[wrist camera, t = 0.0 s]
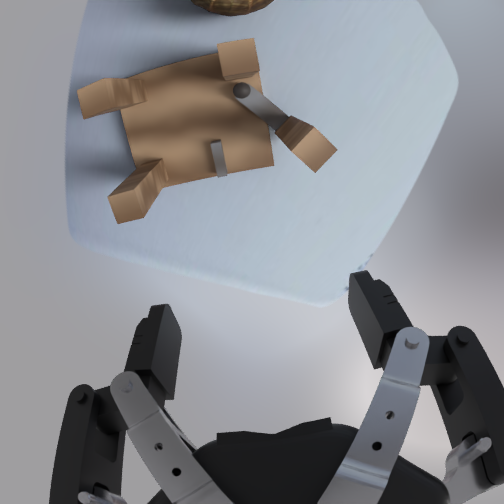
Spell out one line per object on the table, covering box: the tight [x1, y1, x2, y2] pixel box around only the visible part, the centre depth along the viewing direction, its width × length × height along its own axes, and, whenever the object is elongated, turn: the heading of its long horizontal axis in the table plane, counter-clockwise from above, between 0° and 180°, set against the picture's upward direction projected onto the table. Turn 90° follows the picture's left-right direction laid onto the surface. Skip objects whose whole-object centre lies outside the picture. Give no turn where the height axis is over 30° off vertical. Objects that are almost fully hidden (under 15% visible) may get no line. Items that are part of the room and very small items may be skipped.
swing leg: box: [233, 82, 337, 173], centre depth 27 cm, size 10×3×12 cm, turn 50°
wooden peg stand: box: [77, 38, 274, 224], centre depth 28 cm, size 16×18×14 cm
